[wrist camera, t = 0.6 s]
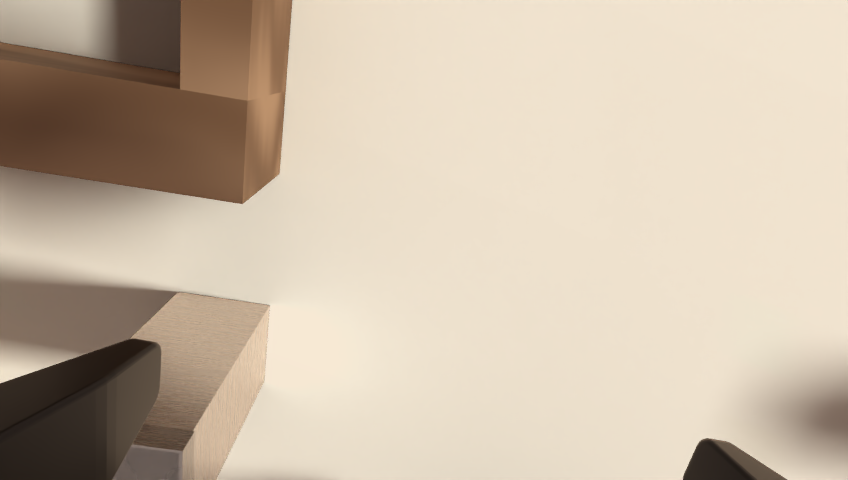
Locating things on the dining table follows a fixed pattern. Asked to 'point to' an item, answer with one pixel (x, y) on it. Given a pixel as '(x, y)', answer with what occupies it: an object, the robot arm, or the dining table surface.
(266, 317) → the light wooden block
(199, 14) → the well board
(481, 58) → the dining table surface
